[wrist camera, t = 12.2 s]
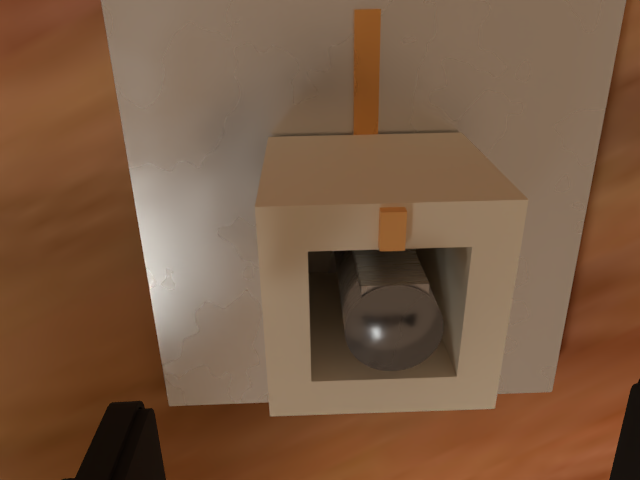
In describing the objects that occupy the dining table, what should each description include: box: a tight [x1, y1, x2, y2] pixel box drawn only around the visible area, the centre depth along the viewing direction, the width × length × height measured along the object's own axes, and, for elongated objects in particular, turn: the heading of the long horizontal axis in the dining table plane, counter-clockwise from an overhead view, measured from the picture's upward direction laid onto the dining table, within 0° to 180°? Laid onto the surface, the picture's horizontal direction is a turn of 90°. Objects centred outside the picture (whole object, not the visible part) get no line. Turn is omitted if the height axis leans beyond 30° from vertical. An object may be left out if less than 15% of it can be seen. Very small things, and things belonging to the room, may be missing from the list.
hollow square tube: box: [255, 132, 529, 416], centre depth 17 cm, size 6×6×6 cm
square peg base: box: [101, 0, 626, 406], centre depth 17 cm, size 16×16×8 cm
